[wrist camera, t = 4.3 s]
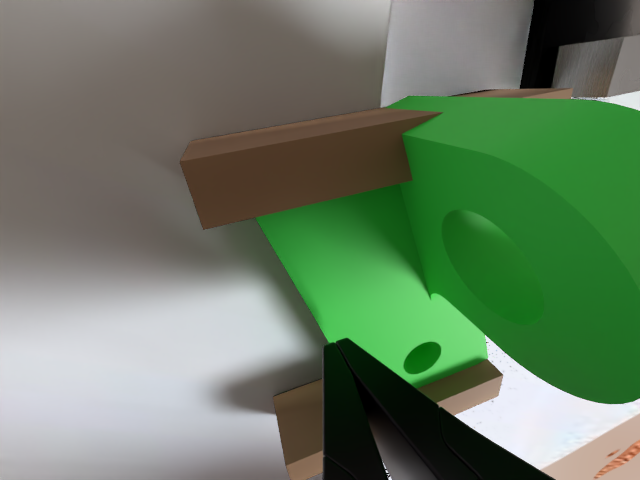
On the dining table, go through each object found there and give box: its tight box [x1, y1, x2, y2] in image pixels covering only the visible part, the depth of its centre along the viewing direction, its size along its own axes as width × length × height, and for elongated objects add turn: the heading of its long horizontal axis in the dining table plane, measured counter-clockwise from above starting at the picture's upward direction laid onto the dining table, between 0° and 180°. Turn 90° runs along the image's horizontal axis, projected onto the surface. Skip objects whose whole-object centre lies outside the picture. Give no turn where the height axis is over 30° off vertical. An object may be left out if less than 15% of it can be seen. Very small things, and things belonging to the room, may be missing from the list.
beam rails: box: [180, 88, 573, 480], centre depth 11 cm, size 13×10×3 cm
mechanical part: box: [255, 96, 640, 404], centre depth 9 cm, size 12×6×8 cm, turn 23°
